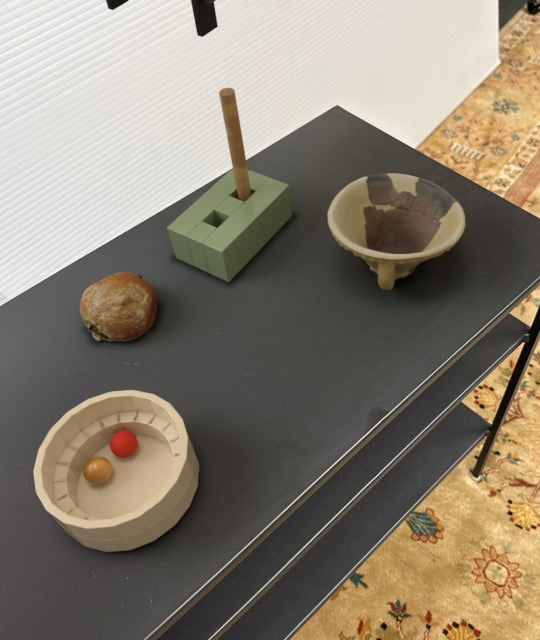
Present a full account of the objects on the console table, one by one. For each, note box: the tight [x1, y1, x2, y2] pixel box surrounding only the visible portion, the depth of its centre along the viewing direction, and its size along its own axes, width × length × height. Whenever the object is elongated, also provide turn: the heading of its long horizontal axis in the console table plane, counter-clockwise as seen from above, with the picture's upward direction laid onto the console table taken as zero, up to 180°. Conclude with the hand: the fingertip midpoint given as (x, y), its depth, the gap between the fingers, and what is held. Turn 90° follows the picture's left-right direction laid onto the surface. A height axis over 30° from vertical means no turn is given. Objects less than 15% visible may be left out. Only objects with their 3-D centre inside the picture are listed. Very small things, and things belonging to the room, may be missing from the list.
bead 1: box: [83, 456, 112, 484], centre depth 70 cm, size 3×3×3 cm
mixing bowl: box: [33, 389, 200, 553], centre depth 69 cm, size 16×16×7 cm
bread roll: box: [79, 271, 158, 343], centre depth 86 cm, size 10×10×8 cm
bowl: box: [326, 172, 466, 291], centre depth 88 cm, size 18×18×10 cm
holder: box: [166, 167, 293, 283], centre depth 94 cm, size 10×16×6 cm, turn 148°
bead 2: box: [110, 430, 138, 457], centre depth 72 cm, size 3×3×3 cm
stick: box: [218, 87, 252, 202], centre depth 90 cm, size 2×2×22 cm
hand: (161, 17), depth 75 cm, fingers open, 13 cm apart
